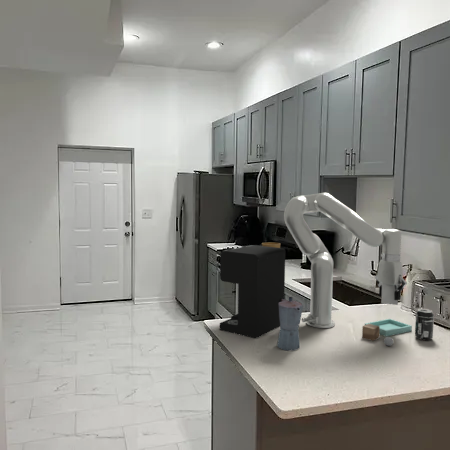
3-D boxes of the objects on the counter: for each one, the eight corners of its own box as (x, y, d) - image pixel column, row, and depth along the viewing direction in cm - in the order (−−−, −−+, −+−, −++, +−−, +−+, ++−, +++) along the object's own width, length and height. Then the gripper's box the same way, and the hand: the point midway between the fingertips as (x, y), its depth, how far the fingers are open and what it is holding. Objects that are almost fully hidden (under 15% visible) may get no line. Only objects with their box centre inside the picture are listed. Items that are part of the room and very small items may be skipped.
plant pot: (281, 262, 375) (281, 242, 374) (278, 265, 361) (278, 244, 359) (263, 261, 379) (263, 241, 378) (259, 263, 365) (260, 244, 364)
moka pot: (288, 355, 170) (290, 302, 168) (266, 342, 184) (267, 293, 182) (309, 351, 175) (311, 299, 173) (286, 338, 188) (287, 290, 186)
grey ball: (388, 347, 179) (389, 339, 179) (381, 345, 182) (382, 336, 182) (395, 346, 181) (395, 337, 181) (387, 343, 184) (388, 335, 184)
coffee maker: (252, 315, 222) (253, 243, 219) (288, 322, 211) (290, 246, 208) (218, 329, 199) (218, 249, 196) (256, 338, 188) (258, 254, 185)
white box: (397, 304, 198) (398, 281, 197) (381, 303, 200) (382, 280, 199) (397, 302, 201) (398, 280, 200) (381, 301, 203) (382, 279, 202)
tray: (386, 336, 192) (386, 331, 192) (364, 328, 203) (364, 323, 203) (411, 330, 200) (411, 325, 200) (389, 323, 211) (389, 318, 210)
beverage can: (413, 335, 195) (415, 307, 194) (431, 336, 193) (432, 308, 192) (415, 340, 188) (417, 311, 187) (433, 342, 186) (435, 313, 185)
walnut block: (373, 341, 187) (373, 329, 187) (362, 337, 191) (362, 326, 190) (379, 338, 191) (379, 326, 190) (368, 335, 194) (368, 323, 194)
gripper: (369, 255, 204) (368, 294, 206) (401, 261, 189) (400, 303, 191) (381, 254, 208) (379, 292, 210) (414, 259, 193) (412, 301, 195)
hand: (389, 297), depth 200 cm, fingers closed on white box, 7 cm apart
